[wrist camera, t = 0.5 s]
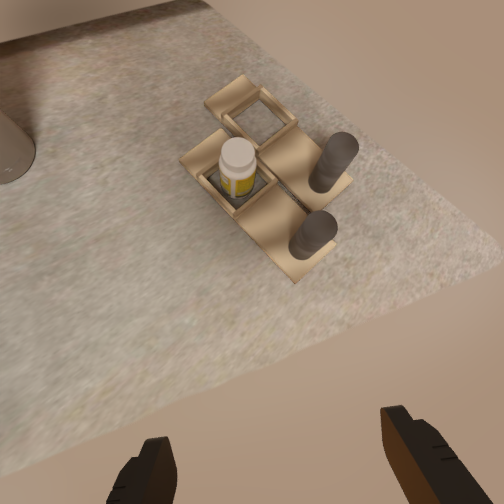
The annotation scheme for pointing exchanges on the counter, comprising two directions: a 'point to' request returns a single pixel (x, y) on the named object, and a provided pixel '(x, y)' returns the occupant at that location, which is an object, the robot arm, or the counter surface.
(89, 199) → the counter surface
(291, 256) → the wooden rack with post
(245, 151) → the supplement bottle
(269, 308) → the counter surface
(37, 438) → the counter surface
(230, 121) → the empty strip
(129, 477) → the robot arm
